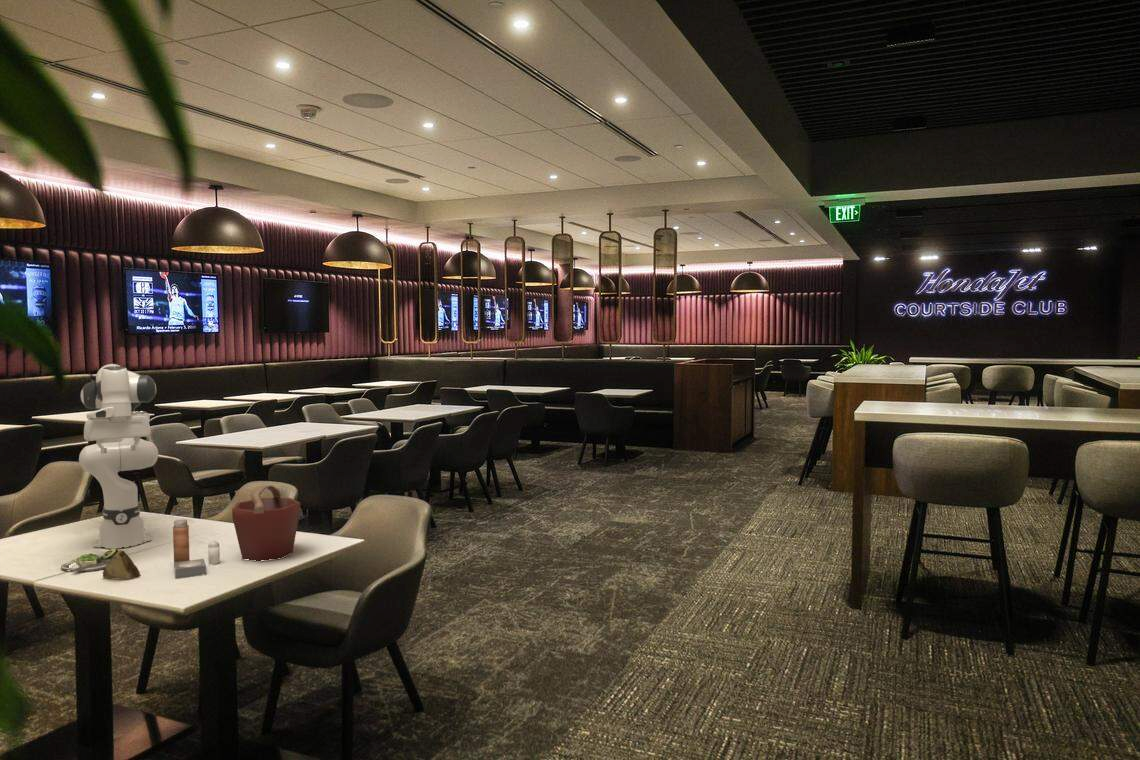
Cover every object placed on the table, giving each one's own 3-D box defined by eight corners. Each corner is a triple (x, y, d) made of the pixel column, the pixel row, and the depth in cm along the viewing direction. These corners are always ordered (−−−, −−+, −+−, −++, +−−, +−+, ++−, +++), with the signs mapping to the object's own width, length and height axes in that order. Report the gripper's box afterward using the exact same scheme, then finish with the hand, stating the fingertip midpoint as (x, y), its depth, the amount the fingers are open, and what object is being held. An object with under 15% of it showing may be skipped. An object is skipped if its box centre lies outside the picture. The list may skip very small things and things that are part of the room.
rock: (91, 573, 250) (106, 574, 244) (106, 548, 254) (121, 548, 249) (121, 585, 257) (136, 587, 251) (135, 561, 261) (150, 562, 256)
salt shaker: (208, 562, 269) (207, 540, 269) (219, 561, 271) (218, 539, 270) (209, 565, 266) (208, 543, 265) (220, 563, 268) (219, 541, 267)
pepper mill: (173, 565, 265) (172, 520, 264) (189, 563, 268) (187, 518, 267) (174, 569, 261) (173, 523, 260) (190, 567, 263) (188, 521, 262)
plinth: (174, 571, 259) (174, 562, 259) (203, 567, 264) (203, 558, 263) (175, 578, 251) (175, 569, 251) (206, 574, 256) (205, 565, 256)
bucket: (273, 566, 264) (271, 494, 263) (216, 562, 269) (214, 492, 267) (311, 547, 288) (309, 481, 287) (258, 544, 293) (256, 479, 291)
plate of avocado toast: (96, 576, 255) (96, 562, 255) (46, 575, 256) (45, 561, 256) (134, 559, 274) (134, 546, 274) (87, 558, 276) (87, 545, 275)
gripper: (146, 410, 278) (148, 449, 278) (81, 414, 263) (83, 454, 263) (152, 410, 274) (154, 449, 274) (86, 413, 259) (89, 454, 259)
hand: (119, 452), depth 268 cm, fingers open, 8 cm apart
